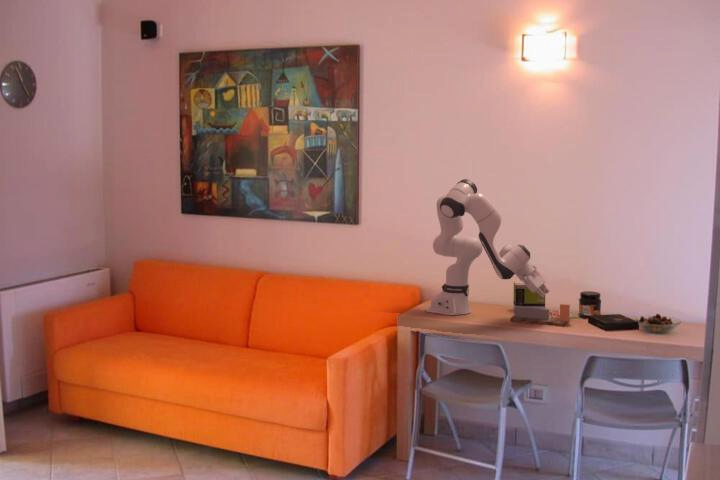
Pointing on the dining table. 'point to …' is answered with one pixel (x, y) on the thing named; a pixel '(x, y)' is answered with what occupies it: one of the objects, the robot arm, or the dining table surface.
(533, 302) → the tea box
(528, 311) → the grey long bar
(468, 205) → the robot arm
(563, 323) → the brown flat board
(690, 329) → the dining table surface
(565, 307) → the stub
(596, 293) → the supplement container
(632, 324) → the portable cd player
